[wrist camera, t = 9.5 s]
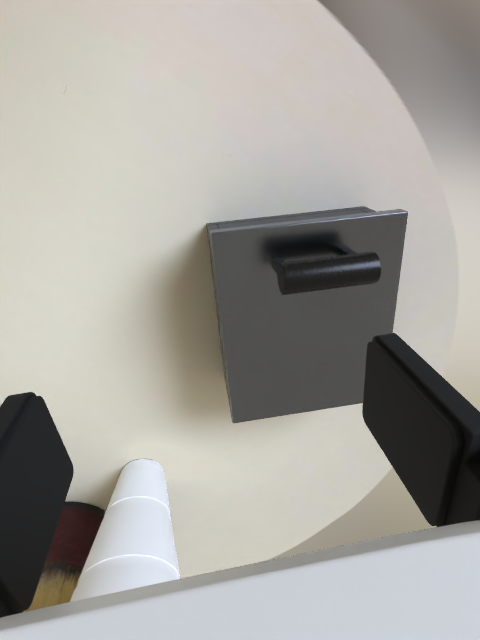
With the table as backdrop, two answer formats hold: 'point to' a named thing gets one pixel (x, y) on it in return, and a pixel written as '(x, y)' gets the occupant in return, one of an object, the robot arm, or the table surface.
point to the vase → (67, 554)
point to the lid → (304, 308)
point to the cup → (132, 536)
